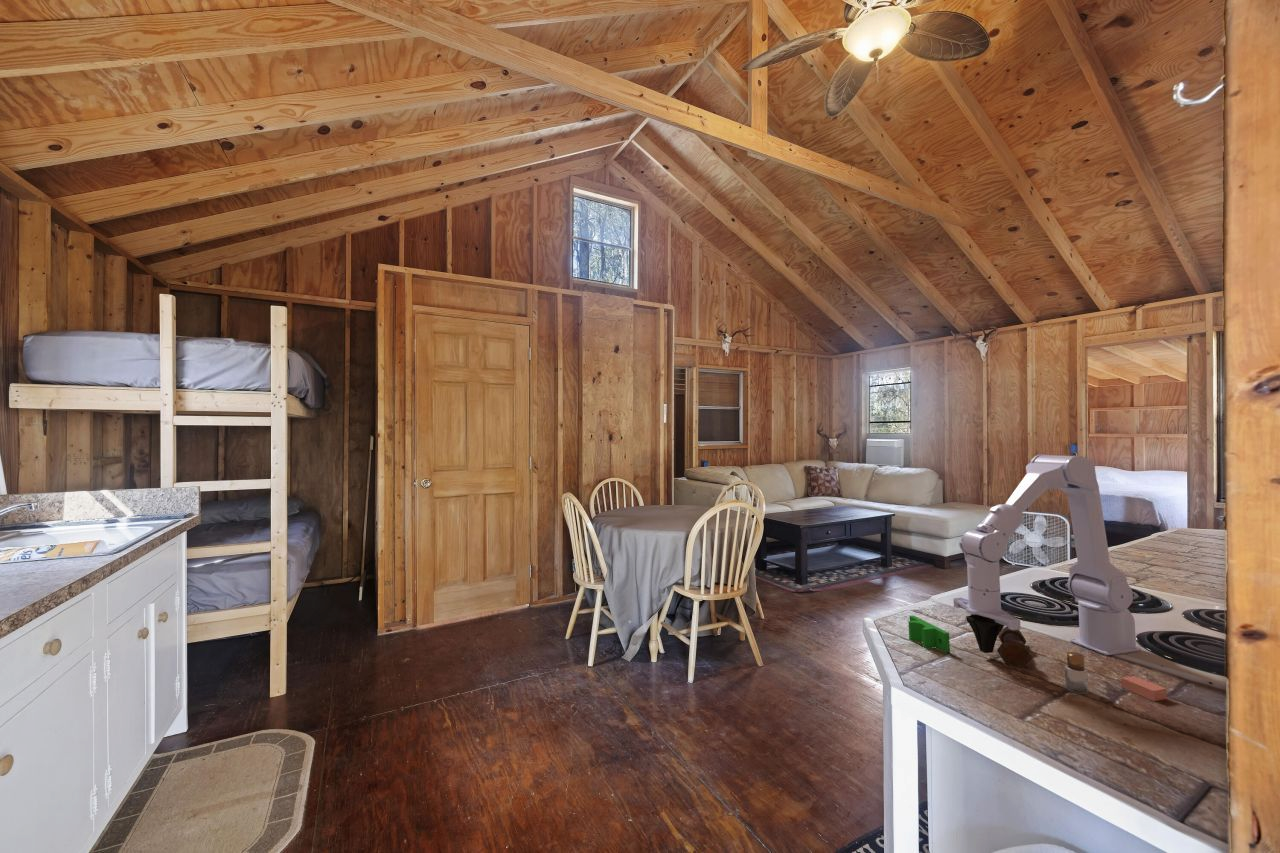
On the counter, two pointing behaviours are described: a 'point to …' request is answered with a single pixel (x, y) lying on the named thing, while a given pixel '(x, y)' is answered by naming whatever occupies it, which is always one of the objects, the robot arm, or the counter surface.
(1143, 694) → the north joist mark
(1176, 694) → the counter surface
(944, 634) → the pipe clamp
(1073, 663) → the two-tone metal capsule
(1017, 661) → the bolt
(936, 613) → the counter surface
